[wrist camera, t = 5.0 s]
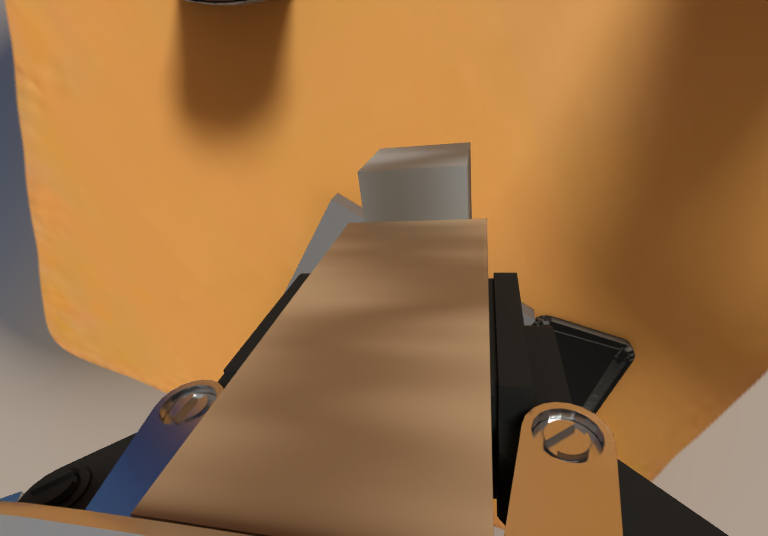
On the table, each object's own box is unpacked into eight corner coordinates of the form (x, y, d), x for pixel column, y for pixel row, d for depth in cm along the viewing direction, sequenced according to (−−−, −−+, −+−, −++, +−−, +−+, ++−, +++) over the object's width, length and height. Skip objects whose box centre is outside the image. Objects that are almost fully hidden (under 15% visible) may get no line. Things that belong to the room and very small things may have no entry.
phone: (641, 349, 31) (552, 474, 38) (636, 340, 32) (551, 463, 39) (536, 316, 31) (468, 445, 39) (534, 308, 32) (469, 435, 40)
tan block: (486, 141, 14) (496, 457, 3) (486, 322, 17) (492, 779, 6) (365, 149, 15) (72, 417, 4) (387, 319, 18) (251, 715, 7)
